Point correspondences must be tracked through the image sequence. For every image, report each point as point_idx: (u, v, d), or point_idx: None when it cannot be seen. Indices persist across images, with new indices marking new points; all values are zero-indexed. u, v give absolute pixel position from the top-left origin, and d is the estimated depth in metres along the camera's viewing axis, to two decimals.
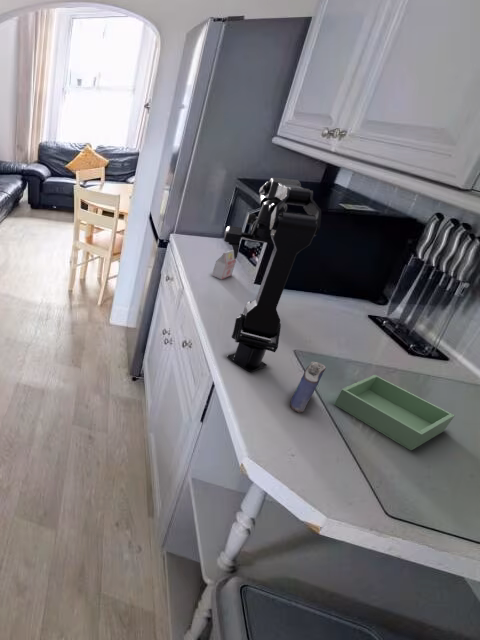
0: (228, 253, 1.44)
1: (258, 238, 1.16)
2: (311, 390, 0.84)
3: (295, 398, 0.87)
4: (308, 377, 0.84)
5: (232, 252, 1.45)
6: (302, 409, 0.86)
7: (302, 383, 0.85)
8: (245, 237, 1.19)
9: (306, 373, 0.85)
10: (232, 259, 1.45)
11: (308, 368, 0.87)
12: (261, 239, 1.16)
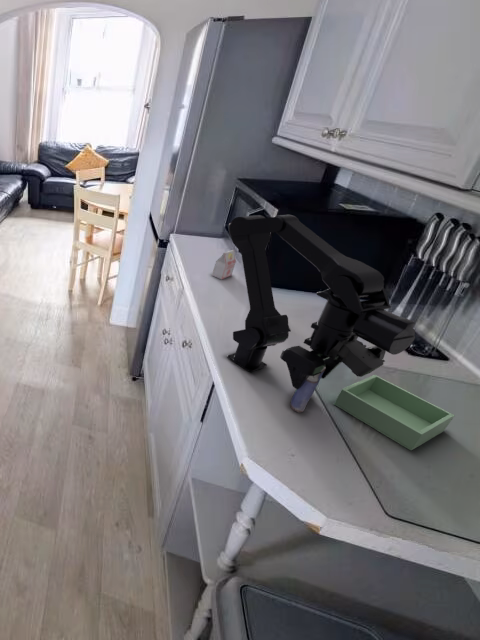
0: (228, 253, 1.44)
1: None
2: (311, 390, 0.84)
3: (295, 398, 0.87)
4: (308, 377, 0.84)
5: (232, 252, 1.45)
6: (302, 409, 0.86)
7: None
8: None
9: None
10: (232, 259, 1.45)
11: None
12: None
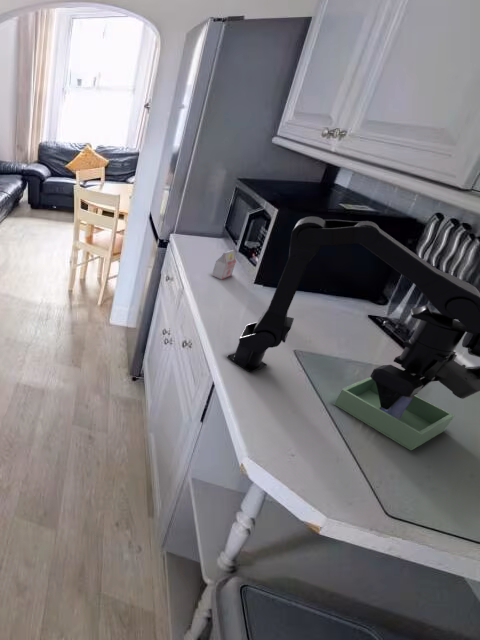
0: (228, 253, 1.44)
1: None
2: (406, 405, 0.80)
3: None
4: None
5: (232, 252, 1.45)
6: None
7: None
8: None
9: None
10: (232, 259, 1.45)
11: None
12: None
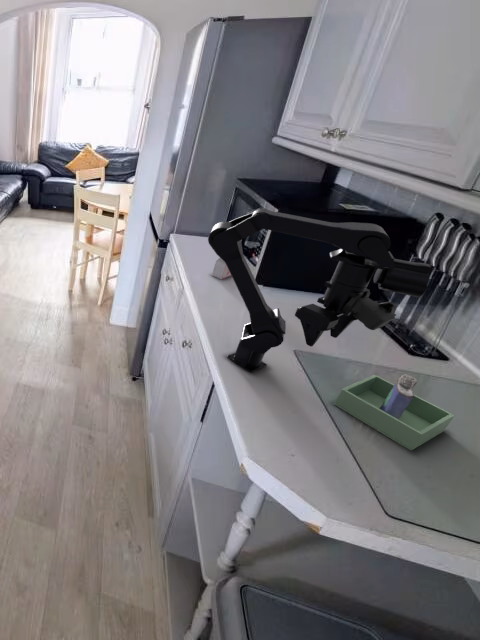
0: None
1: None
2: (406, 405, 0.80)
3: None
4: (402, 391, 0.80)
5: None
6: None
7: (395, 397, 0.81)
8: None
9: (399, 387, 0.81)
10: None
11: (399, 381, 0.83)
12: None
